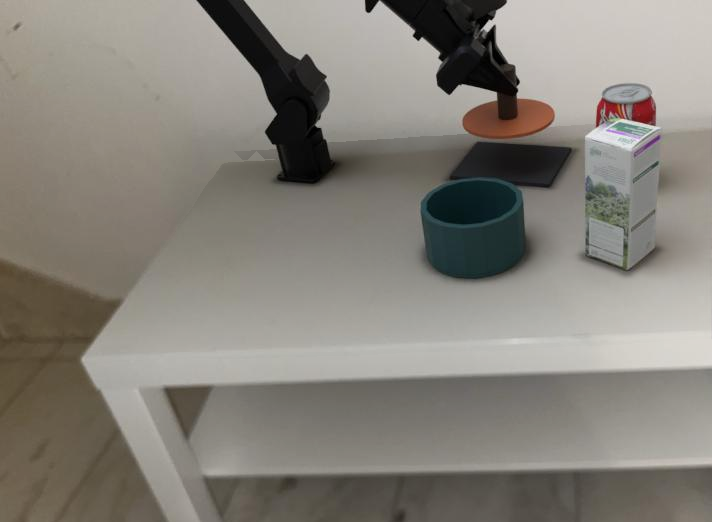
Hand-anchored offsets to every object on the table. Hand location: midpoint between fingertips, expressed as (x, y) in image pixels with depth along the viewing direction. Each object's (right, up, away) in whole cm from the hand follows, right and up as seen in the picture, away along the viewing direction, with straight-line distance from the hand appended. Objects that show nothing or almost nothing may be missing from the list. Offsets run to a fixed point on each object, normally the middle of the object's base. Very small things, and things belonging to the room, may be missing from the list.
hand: (517, 89), depth 99 cm
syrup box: (+10, -23, -13) cm, 28 cm away
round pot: (-6, -22, -10) cm, 25 cm away
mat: (0, -8, +7) cm, 11 cm away
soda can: (+13, -13, -1) cm, 18 cm away
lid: (-1, -3, +3) cm, 4 cm away
